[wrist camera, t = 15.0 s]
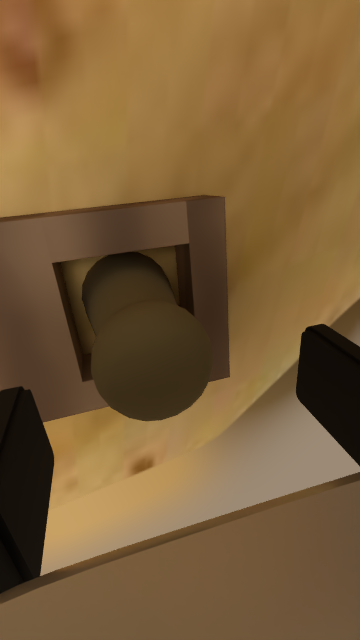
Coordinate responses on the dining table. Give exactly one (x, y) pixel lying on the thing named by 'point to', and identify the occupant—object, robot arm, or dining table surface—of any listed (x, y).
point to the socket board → (53, 302)
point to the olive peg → (143, 339)
